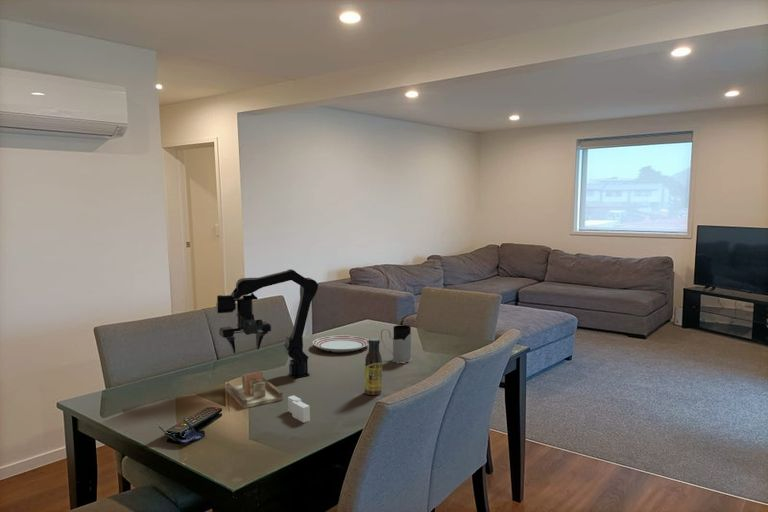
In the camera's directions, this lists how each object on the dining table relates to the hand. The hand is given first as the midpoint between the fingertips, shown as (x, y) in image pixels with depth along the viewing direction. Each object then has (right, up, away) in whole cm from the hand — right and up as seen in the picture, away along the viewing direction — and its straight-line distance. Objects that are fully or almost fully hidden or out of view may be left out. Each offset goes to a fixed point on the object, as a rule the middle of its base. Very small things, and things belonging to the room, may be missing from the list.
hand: (246, 351), depth 204 cm
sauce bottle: (+49, -13, -12) cm, 52 cm away
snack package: (-6, -17, -48) cm, 52 cm away
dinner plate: (+33, -8, +50) cm, 60 cm away
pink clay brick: (+6, -12, -14) cm, 20 cm away
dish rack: (+6, -13, -14) cm, 20 cm away
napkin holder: (+26, -16, -32) cm, 44 cm away
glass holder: (+59, -9, +29) cm, 66 cm away
